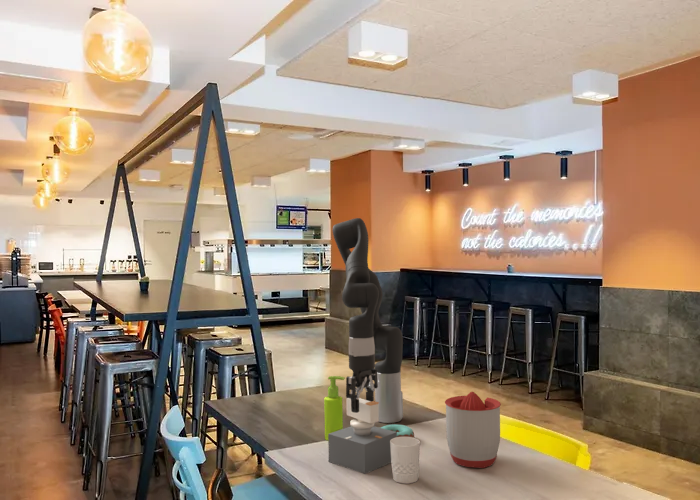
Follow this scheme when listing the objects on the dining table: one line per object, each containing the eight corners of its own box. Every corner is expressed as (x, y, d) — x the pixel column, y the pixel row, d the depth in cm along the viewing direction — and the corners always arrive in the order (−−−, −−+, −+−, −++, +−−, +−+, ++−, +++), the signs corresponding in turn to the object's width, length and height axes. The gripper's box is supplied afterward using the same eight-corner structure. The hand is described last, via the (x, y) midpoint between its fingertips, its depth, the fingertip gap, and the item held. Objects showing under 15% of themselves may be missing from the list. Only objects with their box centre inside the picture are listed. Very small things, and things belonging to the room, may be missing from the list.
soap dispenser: (344, 441, 185) (343, 378, 185) (322, 440, 187) (321, 378, 187) (347, 436, 191) (346, 374, 191) (327, 434, 193) (326, 374, 193)
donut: (371, 437, 190) (370, 425, 190) (404, 433, 194) (404, 421, 194) (385, 449, 178) (385, 436, 178) (420, 444, 183) (420, 431, 183)
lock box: (361, 448, 179) (360, 416, 179) (397, 459, 169) (396, 425, 169) (328, 461, 168) (328, 426, 168) (365, 473, 159) (364, 437, 159)
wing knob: (341, 423, 171) (340, 397, 171) (360, 418, 175) (359, 393, 175) (365, 432, 162) (364, 405, 162) (384, 427, 167) (383, 401, 167)
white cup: (388, 473, 159) (388, 437, 159) (417, 472, 159) (416, 435, 159) (393, 485, 151) (392, 446, 151) (423, 484, 152) (422, 445, 152)
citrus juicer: (506, 454, 172) (505, 386, 172) (496, 475, 157) (495, 400, 157) (454, 447, 179) (453, 382, 179) (439, 467, 163) (438, 395, 163)
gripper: (362, 347, 177) (363, 401, 177) (337, 355, 164) (338, 413, 165) (384, 349, 173) (385, 404, 173) (360, 357, 161) (361, 416, 161)
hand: (362, 408), depth 169 cm, fingers open, 8 cm apart
